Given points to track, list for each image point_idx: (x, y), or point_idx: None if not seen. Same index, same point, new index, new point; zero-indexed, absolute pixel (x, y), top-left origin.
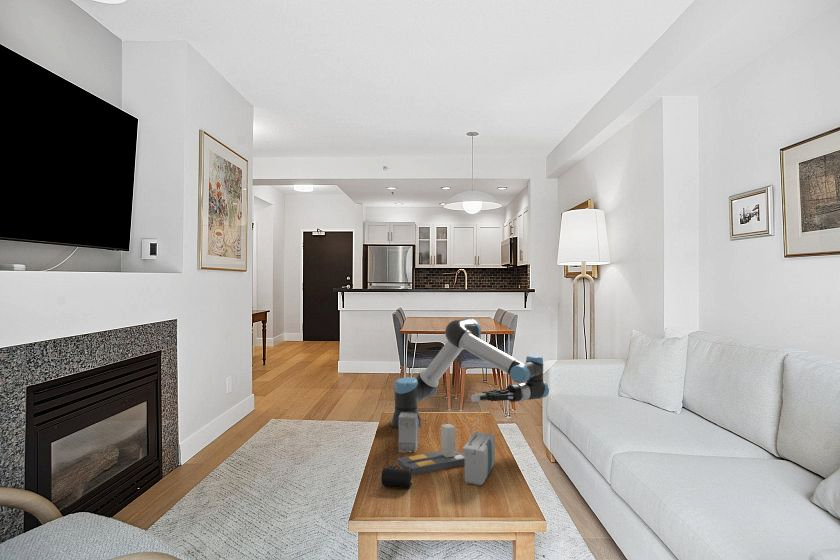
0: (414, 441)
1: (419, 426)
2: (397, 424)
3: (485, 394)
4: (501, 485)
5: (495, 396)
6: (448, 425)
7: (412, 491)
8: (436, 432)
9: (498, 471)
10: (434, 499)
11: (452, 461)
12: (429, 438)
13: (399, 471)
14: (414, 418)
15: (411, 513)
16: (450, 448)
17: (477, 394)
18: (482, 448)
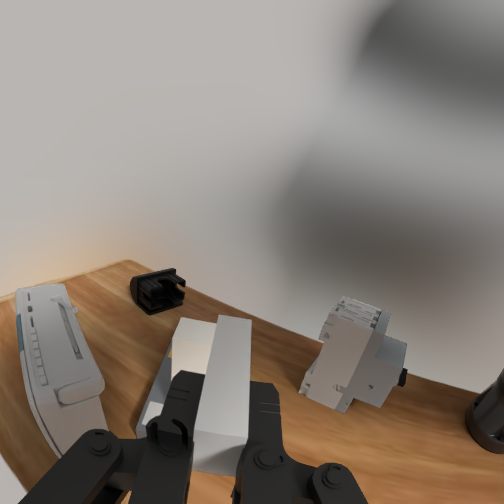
0: (310, 370)
1: (487, 449)
2: (473, 400)
3: (194, 422)
4: (4, 382)
5: (60, 473)
6: (205, 334)
7: (127, 303)
8: (449, 483)
9: (39, 445)
10: (83, 303)
11: (151, 389)
12: (402, 457)
13: (148, 273)
14: (329, 314)
15: (86, 277)
16: None
17: (236, 354)
18: (19, 295)
